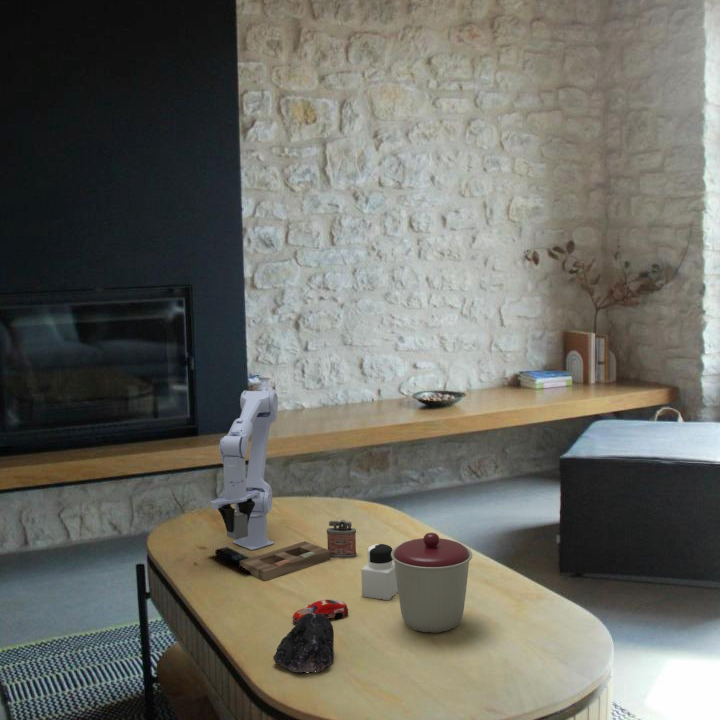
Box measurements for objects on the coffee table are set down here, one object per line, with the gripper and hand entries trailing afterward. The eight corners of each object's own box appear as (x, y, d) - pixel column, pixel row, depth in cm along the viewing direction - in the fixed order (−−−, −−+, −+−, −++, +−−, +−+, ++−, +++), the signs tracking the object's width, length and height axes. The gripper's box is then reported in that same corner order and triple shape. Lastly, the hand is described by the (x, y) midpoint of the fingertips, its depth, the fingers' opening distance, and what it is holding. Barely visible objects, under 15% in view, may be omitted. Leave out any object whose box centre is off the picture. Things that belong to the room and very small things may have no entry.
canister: (379, 616, 218) (377, 527, 215) (448, 602, 225) (447, 516, 222) (414, 647, 202) (412, 551, 199) (487, 631, 209) (487, 539, 206)
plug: (227, 536, 254) (226, 513, 253) (239, 532, 257) (238, 510, 256) (235, 539, 251) (234, 516, 251) (248, 536, 254) (247, 513, 253)
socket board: (239, 570, 250) (239, 559, 249) (305, 549, 264) (304, 540, 264) (265, 581, 242) (264, 570, 241) (330, 559, 256) (330, 549, 256)
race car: (297, 630, 212) (297, 613, 212) (289, 621, 217) (288, 604, 217) (351, 618, 218) (350, 602, 217) (341, 610, 223) (341, 594, 222)
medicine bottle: (399, 590, 233) (399, 543, 232) (388, 601, 227) (387, 552, 225) (373, 586, 236) (372, 540, 235) (361, 596, 230) (360, 549, 228)
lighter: (357, 554, 260) (356, 518, 259) (356, 558, 257) (355, 522, 255) (328, 553, 261) (327, 518, 259) (326, 557, 258) (325, 522, 256)
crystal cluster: (284, 684, 188) (288, 638, 186) (263, 651, 200) (266, 608, 198) (346, 675, 194) (350, 630, 192) (322, 644, 206) (325, 601, 204)
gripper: (220, 488, 244) (222, 539, 246) (266, 477, 254) (267, 526, 256) (205, 483, 250) (207, 533, 251) (250, 472, 259) (252, 520, 261)
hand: (237, 529), depth 254 cm, fingers closed on plug, 4 cm apart
